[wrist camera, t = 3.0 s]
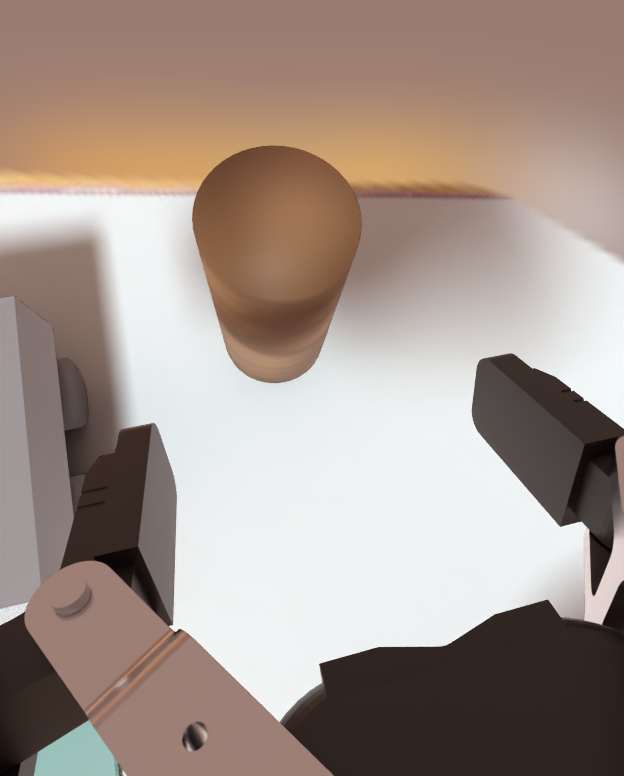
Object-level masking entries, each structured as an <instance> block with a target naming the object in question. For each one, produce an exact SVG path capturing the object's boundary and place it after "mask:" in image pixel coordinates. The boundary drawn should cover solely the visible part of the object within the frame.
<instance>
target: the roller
mask: <svg viewBox="0 0 624 776" xmlns="http://www.w3.org/2000/svg"><path fill="white" fill-rule="evenodd" d="M192 222H193V231H194V234H195V238H196V242H197V246H198V249H199V253H200V256H201V260H202V263H203V267H204V270H205V274H206V278H207V281H208V285H209V288H210V292H211V295H212V299H213V302H214V306H215V310H216V313H217V317H218V320H219V324H220V327H221V331H222V335H223V338H224V342H225V345H226V349H227V352H228V354H229V356H230V358H231V360H232V361H233V363H234V364H235V365H236V367H237V368H239V369H240V370H241V371H242V372H243V373H244V374H246V375H247V376H249V377H251V378H253V379H256V380H258V381H262V382H267V383H281V382H287V381H290V380H293V379H295V378H297V377H299V376H301V375H302V374H304V373H305V372H306V371H308V370H309V369H310V368H311V366H312V365H313V364H314V363H315V361H316V359H317V358H318V356H319V353H320V351H321V348H322V345H323V342H324V339H325V337H326V334H327V331H328V328H329V325H330V323H331V320H332V317H333V314H334V311H335V309H336V306H337V303H338V300H339V297H340V295H341V292H342V289H343V286H344V283H345V281H346V278H347V275H348V272H349V269H350V267H351V264H352V261H353V258H354V255H355V253H356V250H357V247H358V244H359V240H360V236H361V213H360V208H359V205H358V202H357V199H356V196H355V194H354V192H353V190H352V188H351V187H350V185H349V184H348V182H347V181H346V180H345V179H344V177H343V176H342V175H341V174H340V173H339V172H338V171H337V170H336V169H335V168H334V167H332V166H331V165H330V164H329V163H327V162H326V161H324V160H323V159H321V158H319V157H317V156H315V155H313V154H311V153H308V152H306V151H303V150H300V149H295V148H291V147H284V146H261V147H256V148H251V149H248V150H244V151H241V152H239V153H237V154H234V155H232V156H231V157H229V158H227V159H225V160H224V161H222V162H221V163H220V164H219V165H217V166H216V167H215V168H214V169H213V170H212V171H211V172H210V173H209V174H208V176H207V177H206V178H205V180H204V181H203V182H202V184H201V186H200V188H199V190H198V192H197V195H196V198H195V201H194V206H193V216H192Z"/></svg>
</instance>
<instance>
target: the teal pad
mask: <svg viewBox="0 0 624 776" xmlns="http://www.w3.org/2000/svg"><path fill="white" fill-rule="evenodd" d="M34 776H120V775H119V766H118V762H117V760H116V759H115V757H114V756H113V755H112V753H111V752H110V750H109V749H108V747H107V746H106V744H105V743H104V742H103V740H102V739H101V737H100V736H99V734H98V733H97V731H96V730H95V728H94V727H93V726H92V724H91V722H90V721H89V720H88V721H87V722H85V723H84V724H82V725H80V726H79V727H77V728H76V729H74V730H72V731H71V732H69V733H68V734H66V735H64V736H63V737H61V738H60V739H58V740H56V741H55V742H53V743H52V744H50V745H48V746H47V747H45V748H44V749H42V750H40V751H39V752H38V755H37V761H36V766H35V772H34Z"/></svg>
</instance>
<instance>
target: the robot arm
mask: <svg viewBox="0 0 624 776" xmlns="http://www.w3.org/2000/svg"><path fill="white" fill-rule="evenodd" d="M472 417H473V421H474V424H475V427H476V429H477V431H478V432H479V433H480V435H481V436H482V437H483V438H484V439H485V440H486V442H487V443H488V444H489V445H490V446H491V447H492V449H493V450H494V451H495V452H496V453H497V454H498V455H499V457H500V458H501V459H502V460H503V461H504V462H505V464H506V465H507V466H508V467H509V468H510V469H511V470H512V472H513V473H514V474H515V475H516V476H517V477H518V479H519V480H520V481H521V482H522V483H523V484H524V486H525V487H526V488H527V489H528V490H529V491H530V492H531V494H532V495H533V496H534V497H535V498H536V499H537V501H538V502H539V503H540V504H541V505H542V506H543V507H544V509H545V510H546V511H547V512H548V513H549V514H550V516H551V517H552V518H553V519H554V520H555V521H556V522H557V524H558V525H559V526H560V527H561V526H565V525H569V524H573V523H577V522H581V521H582V522H583V523H584V524H585V526H586V527H587V529H586V532H585V535H584V572H585V615H584V620H580V619H572V618H561V617H560V616H559V614H558V613H557V612H556V610H555V609H554V607H553V606H552V605H551V603H550V602H549V600H545V601H541V602H538V603H534V604H531V605H527V606H523V607H520V608H516V609H513V610H509V611H506V612H502V613H498V614H495V615H493V616H492V617H490V618H489V619H487V620H486V621H484V622H483V623H481V624H479V625H478V626H476V627H475V628H473V629H472V630H470V631H469V632H467V633H466V634H464V635H463V636H461V637H460V638H458V639H456V640H455V641H453V642H452V643H450V644H448V645H446V646H441V647H377V648H374V649H370V650H367V651H363V652H360V653H356V654H352V655H349V656H345V657H342V658H338V659H335V660H331V661H327V662H324V663H320V664H319V665H320V672H321V678H322V683H321V684H320V685H318V686H317V687H315V688H314V689H312V690H310V691H309V692H308V693H307V694H306V695H304V696H303V697H302V698H301V699H300V700H298V701H297V702H296V704H295V705H294V706H293V707H292V708H291V709H290V710H289V711H288V712H287V713H286V714H285V716H284V717H283V719H282V720H281V721H280V723H279V722H278V721H277V720H276V719H275V718H274V717H273V716H272V715H271V714H270V713H269V712H268V711H267V710H266V709H265V708H264V707H263V706H262V705H261V704H260V703H259V702H258V701H257V700H256V699H255V698H254V697H253V696H252V695H251V694H250V693H249V692H248V691H247V690H246V689H245V688H244V687H243V686H242V685H241V684H240V683H239V682H238V681H237V680H236V679H234V678H233V677H232V676H231V675H230V674H229V673H228V672H227V671H226V670H225V669H224V668H223V667H222V666H221V665H220V664H219V663H218V662H217V661H216V660H215V659H214V658H213V657H212V656H211V655H210V654H209V653H208V652H207V651H206V650H205V649H204V648H203V647H202V646H201V645H200V644H199V643H198V642H197V641H196V640H195V639H194V638H192V637H191V636H190V635H189V634H188V633H186V632H185V631H183V630H181V629H179V630H178V631H177V632H175V631H173V630H172V629H171V628H170V627H169V626H170V625H173V606H174V572H175V539H176V505H177V494H176V486H175V480H174V476H173V472H172V469H171V466H170V463H169V460H168V457H167V454H166V451H165V448H164V445H163V442H162V439H161V436H160V434H159V431H158V428H157V426H156V424H155V423H151V424H146V425H141V426H136V427H131V428H126V429H121V430H120V432H119V436H118V440H117V445H116V450H115V453H113V454H108V455H103V456H100V457H99V458H98V459H97V461H96V462H95V463H94V464H93V466H92V467H91V468H90V469H89V471H88V472H87V473H86V476H85V479H84V483H83V487H82V490H81V494H82V495H81V496H80V498H79V501H78V505H77V511H76V512H75V516H74V520H73V523H72V527H71V531H70V534H69V538H68V542H67V545H66V549H65V553H64V556H63V560H62V564H61V567H60V570H59V571H58V572H56V573H54V574H53V575H52V576H50V577H49V578H48V579H47V580H45V581H44V582H43V583H42V584H41V585H40V586H39V588H38V589H37V590H36V591H35V592H34V594H33V595H32V597H31V599H30V600H29V603H28V605H27V607H26V611H25V612H24V613H22V614H21V615H19V616H17V617H16V618H14V619H12V620H10V621H8V622H6V623H4V624H2V625H0V776H34V772H35V766H36V761H37V755H38V752H39V751H40V750H42V749H44V748H45V747H47V746H48V745H50V744H52V743H53V742H55V741H56V740H58V739H60V738H61V737H63V736H64V735H66V734H68V733H69V732H71V731H72V730H74V729H76V728H77V727H79V726H80V725H82V724H84V723H85V722H87V721H88V720H89V721H90V722H91V724H92V726H93V727H94V728H95V730H96V731H97V733H98V734H99V736H100V737H101V739H102V740H103V742H104V743H105V744H106V746H107V747H108V749H109V750H110V752H111V753H112V755H113V756H114V757H115V759H116V760H117V762H118V763H119V765H120V766H121V768H122V769H123V770H124V772H125V773H126V775H127V776H624V429H623V428H622V427H620V426H619V425H618V424H617V423H615V422H614V421H613V420H611V419H610V418H609V417H607V416H606V415H605V414H603V413H602V412H601V411H599V410H598V409H597V408H596V407H594V406H593V405H592V404H590V403H589V402H588V401H584V400H583V398H582V397H581V396H580V395H578V394H577V393H576V392H575V391H571V388H569V387H568V386H567V385H565V384H564V383H563V382H561V381H560V380H559V379H557V378H556V377H554V376H552V375H550V374H547V373H545V372H542V371H540V370H537V369H535V368H534V369H532V368H531V367H530V366H528V365H527V364H526V363H524V362H523V361H522V360H521V359H519V358H518V357H517V356H515V355H514V354H504V355H499V356H494V357H489V358H484V359H481V360H480V361H479V363H478V365H477V371H476V379H475V387H474V396H473V404H472Z"/></svg>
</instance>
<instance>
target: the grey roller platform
mask: <svg viewBox="0 0 624 776" xmlns="http://www.w3.org/2000/svg"><path fill="white" fill-rule="evenodd" d="M87 418H88V399H87V393H86V389H85V385H84V382H83V379H82V376H81V374H80V372H79V370H78V368H77V366H76V365H75V364H74V363H73V361H71V360H70V359H60V360H56V350H55V341H54V332H53V326H52V325H51V324H49V323H48V322H47V321H45V320H44V319H43V318H42V317H40V316H39V315H38V314H37V313H35V312H34V311H33V310H32V309H30V308H29V307H28V306H27V305H25V304H24V303H23V302H21V301H20V300H19V299H18V298H16V297H15V296H9V297H2V298H0V609H1V608H5V607H9V606H14V605H18V604H22V603H26V602H29V600H30V599H31V597H32V595H33V594H34V592H35V591H36V590H37V589H38V588H39V586H40V585H41V584H42V583H43V582H44V581H45V580H47V579H48V578H49V577H50V576H52V575H53V574H54V573H56V572H58V571H59V570H60V567H61V564H62V560H63V556H64V553H65V549H66V545H67V542H68V538H69V534H70V531H71V527H72V523H73V520H74V516H75V512H76V511H77V505H78V501H79V498H80V496H81V495H82V494H81V490H82V487H83V483H84V479H85V476H86V475H85V474H81V475H76V476H72V477H69V470H68V460H67V451H66V442H65V433H64V431H65V430H70V429H75V428H81V427H83V426H84V425H85V424H86V421H87Z"/></svg>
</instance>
